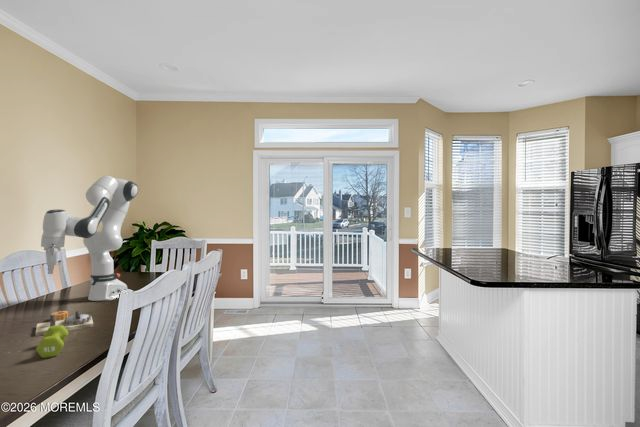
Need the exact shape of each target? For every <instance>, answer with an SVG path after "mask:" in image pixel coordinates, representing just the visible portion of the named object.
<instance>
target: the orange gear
mask: <svg viewBox="0 0 640 427" xmlns="http://www.w3.org/2000/svg"><path fill="white" fill-rule="evenodd" d="M50 315H55V321H60V320H65V319H66V317H70V314H69V311H68V310H59V311H54V312H52V313H50Z"/></svg>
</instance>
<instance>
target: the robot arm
mask: <svg viewBox="0 0 640 427" xmlns="http://www.w3.org/2000/svg"><path fill="white" fill-rule="evenodd" d="M138 192H139V187H138V184H137V183H135V182H133V181H130V180H126V179H123V178H116V177H115V178H114V177H113V176H111V175H103V176H102V177H99V178H98V179H97V180H96V181H94V182H93V183H92V185H91V186H90V187H89V188H88V189H87V190H86V192H85V199H86V200H87V202H88V203H89V204H90V205H91V206H93V208H92V210H91V212H90V213H89V215H87V216H86V217H85V216H84V217H77V216H73V215H70V214H69V213H67V212H66V210H64V209H58V208H57V209H49V210H47V211H46V212H45V213H44V217H43V221H42V222H43V223H42V231H43V232H42V235H41V239H40V247H41V248H43V250H44V251H45V261H46V265H47V274H49V275H52V274H54V268H55V266H56V265H57V263H58V253H59V251H61V250H62V249H61V248H65V240H66V236H67V237H68V236H69V237H77V238H78V237H79V238H83V240H82V241H83V245H84V246H85V247H86V249H87V250H88V254H89V257H90V258H89V259H90V262H91V263H90V264H91V269H90V270H91V274H90V279H89V283H90V290H89V293H88V298H87V300H88V301H93V302H94V301H95V302H96V301H101V302H102V301H112V300H113V301H114V300H116V298H117V299H119V294H120V291H121V290H124V289H128V285H127V284H126V283H125V282H123V281H121V280H119V279H118V278H120V277H121V274H120V273H115V272H114V271H115V270H114V268H115V267H114V266H115V265H114V264H115V263H114V259H113V258H112V256H111V254H110V252H114V251H118V250H119V249H120V248H122V245H123V242H124V241H123V237H122V236H121V231H122V230H121V229H122V225H123V224H124V220H125V218H126V216H127V214H128V211H129V207H130V204H131V201H132V200H134V198H136V196H137V195H138ZM110 199H111V200H110ZM100 223H102V228H101V231H98V228H99V225H100Z"/></svg>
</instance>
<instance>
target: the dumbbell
mask: <svg viewBox="0 0 640 427" xmlns="http://www.w3.org/2000/svg"><path fill="white" fill-rule="evenodd" d="M42 336H43V337H42V339H40V340H41V341H39V343H38V345H37V347H36V349H35V351H36V352H37V353H38V355H39V356H40V357H41V358H43V359H46V358H53V357H57V356H58V355H59V354H60V352H61V351H62V349H63V348H64V346H65V343H64V342H65V340H66V339H67V337H68V336H69V331H68V330H67V329H66V328H65V327H64V326H63V325H56V326H51V327H49V329H48V330H47V331H46V333H45V334H44V335H42Z"/></svg>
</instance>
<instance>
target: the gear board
mask: <svg viewBox="0 0 640 427" xmlns="http://www.w3.org/2000/svg"><path fill="white" fill-rule="evenodd" d="M74 313H75V315H69V317H66V319H65V320H60V321H55V315H51V314H50V315H49V321H48V322H47V321H46V322H41V323H36V327H35V328H36V329H35V337H37V336H38V337H39V336H44V334H45V333H46V331H47V330H48V329H49V327H51V326H56V325H63V326H64V327H65V328H66V329H67V330H68V332H69V331H75V330H80V329H81V330H82V329H87V328H92V327H94V321H93V317H92V315H90V314H88V313H86V314H85V313H83V314H82V313H81V310H80V311H75V312H74Z"/></svg>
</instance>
